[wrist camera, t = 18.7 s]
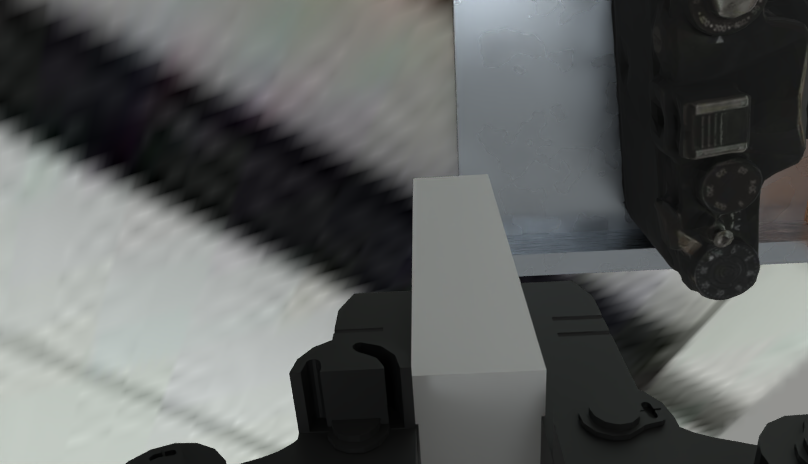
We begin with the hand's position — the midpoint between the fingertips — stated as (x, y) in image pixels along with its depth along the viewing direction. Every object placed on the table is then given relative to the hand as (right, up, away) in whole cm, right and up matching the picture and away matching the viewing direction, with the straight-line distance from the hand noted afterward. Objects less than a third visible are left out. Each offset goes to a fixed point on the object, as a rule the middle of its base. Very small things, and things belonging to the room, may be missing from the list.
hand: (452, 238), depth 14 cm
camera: (+14, +7, +19) cm, 25 cm away
